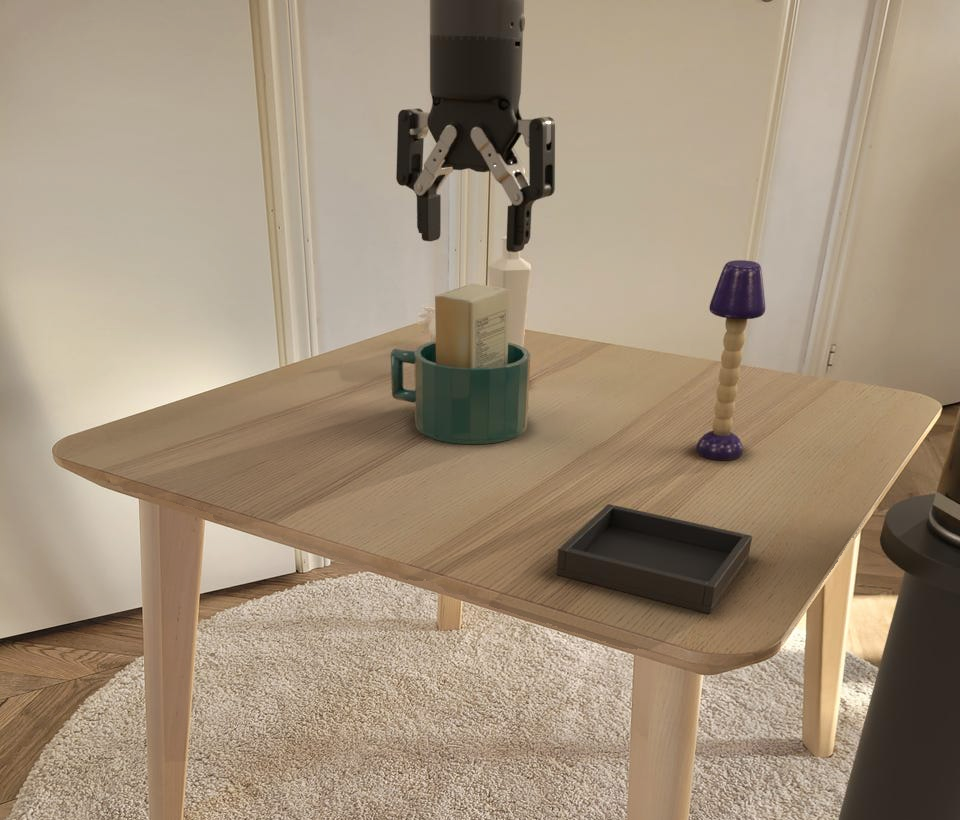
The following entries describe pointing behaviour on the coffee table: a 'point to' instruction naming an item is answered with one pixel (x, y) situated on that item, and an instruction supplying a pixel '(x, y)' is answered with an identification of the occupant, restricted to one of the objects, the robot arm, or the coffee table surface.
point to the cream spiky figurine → (429, 323)
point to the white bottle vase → (513, 289)
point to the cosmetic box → (472, 326)
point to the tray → (655, 557)
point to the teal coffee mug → (465, 396)
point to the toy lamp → (732, 350)
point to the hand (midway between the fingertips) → (472, 245)
